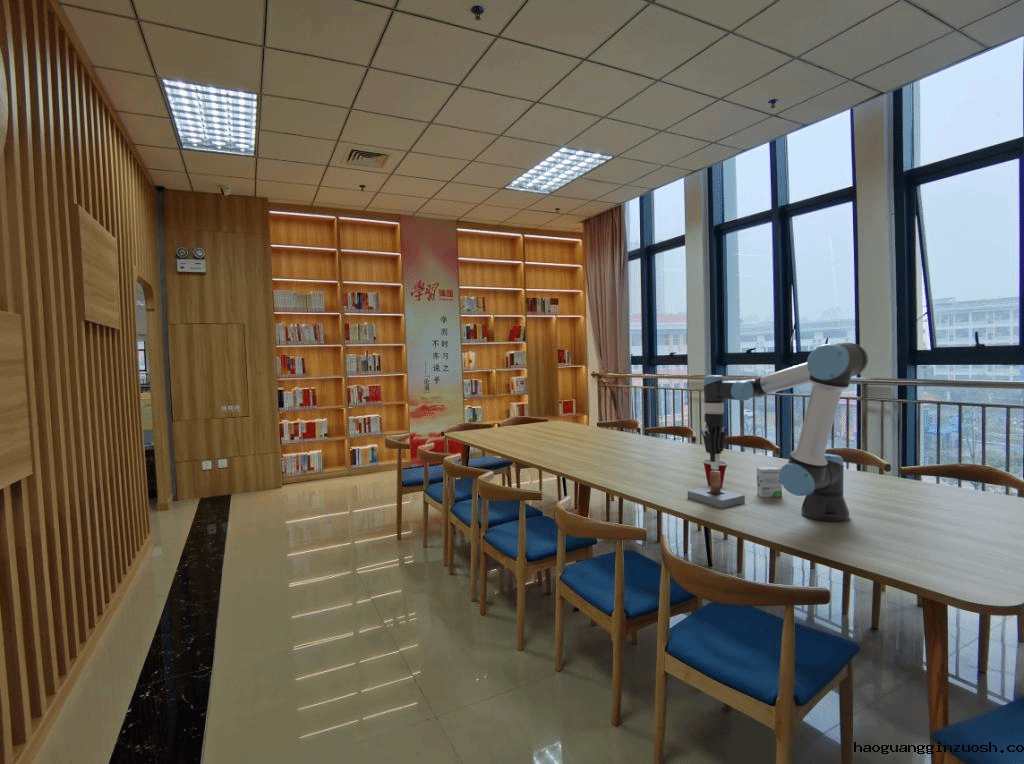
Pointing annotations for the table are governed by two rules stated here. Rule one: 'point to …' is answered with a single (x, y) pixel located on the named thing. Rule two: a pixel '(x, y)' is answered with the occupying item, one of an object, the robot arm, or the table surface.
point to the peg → (715, 483)
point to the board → (716, 497)
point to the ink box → (769, 482)
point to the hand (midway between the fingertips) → (714, 469)
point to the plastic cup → (721, 468)
